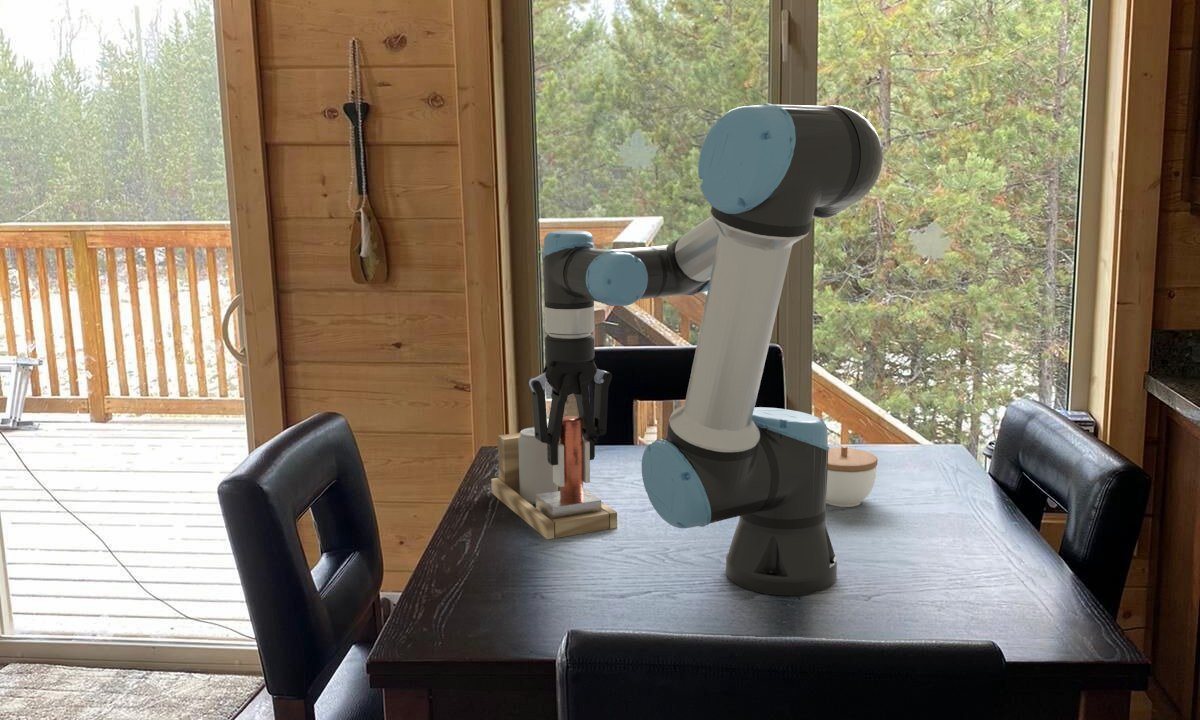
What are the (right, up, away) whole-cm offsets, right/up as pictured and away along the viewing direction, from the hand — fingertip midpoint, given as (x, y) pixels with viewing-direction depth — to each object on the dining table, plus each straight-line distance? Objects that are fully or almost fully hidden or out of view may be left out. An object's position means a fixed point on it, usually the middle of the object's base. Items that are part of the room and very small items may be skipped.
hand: (571, 481), depth 173 cm
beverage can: (-6, -5, +14) cm, 16 cm away
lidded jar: (+45, -5, +12) cm, 46 cm away
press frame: (-4, -6, +9) cm, 11 cm away
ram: (-1, -7, +3) cm, 7 cm away
